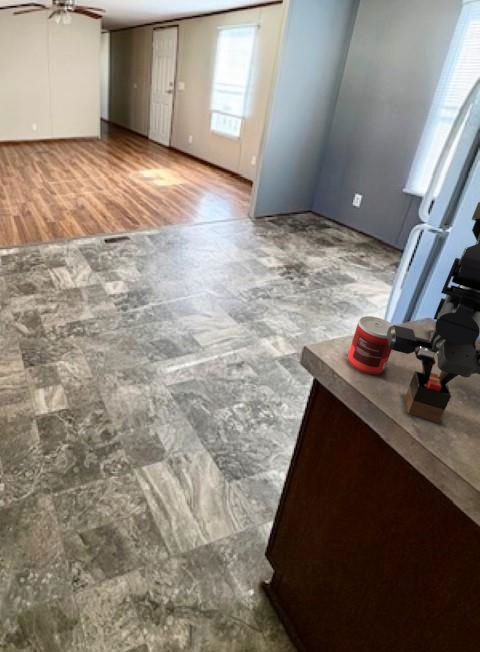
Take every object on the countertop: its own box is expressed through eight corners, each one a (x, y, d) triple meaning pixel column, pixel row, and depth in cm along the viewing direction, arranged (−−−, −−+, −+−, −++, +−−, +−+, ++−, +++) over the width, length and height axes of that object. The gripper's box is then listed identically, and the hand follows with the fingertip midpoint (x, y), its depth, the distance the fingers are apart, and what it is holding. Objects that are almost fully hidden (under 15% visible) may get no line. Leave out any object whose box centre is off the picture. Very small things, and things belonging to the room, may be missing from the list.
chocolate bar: (422, 380, 87) (426, 371, 86) (434, 383, 86) (438, 374, 85) (426, 393, 84) (430, 383, 83) (437, 396, 83) (442, 386, 82)
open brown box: (409, 384, 89) (414, 371, 88) (439, 393, 87) (445, 379, 86) (413, 400, 85) (418, 386, 84) (444, 410, 83) (451, 395, 81)
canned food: (373, 354, 104) (386, 316, 99) (391, 376, 96) (405, 337, 92) (341, 352, 104) (352, 314, 100) (356, 374, 97) (369, 334, 93)
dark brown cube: (404, 397, 91) (409, 384, 89) (434, 406, 88) (439, 393, 87) (407, 413, 86) (413, 400, 85) (438, 423, 84) (444, 410, 83)
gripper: (405, 327, 76) (380, 393, 82) (542, 360, 68) (504, 431, 74) (398, 298, 85) (376, 360, 91) (519, 325, 77) (486, 391, 83)
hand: (431, 384), depth 85 cm, fingers closed on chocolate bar, 2 cm apart
